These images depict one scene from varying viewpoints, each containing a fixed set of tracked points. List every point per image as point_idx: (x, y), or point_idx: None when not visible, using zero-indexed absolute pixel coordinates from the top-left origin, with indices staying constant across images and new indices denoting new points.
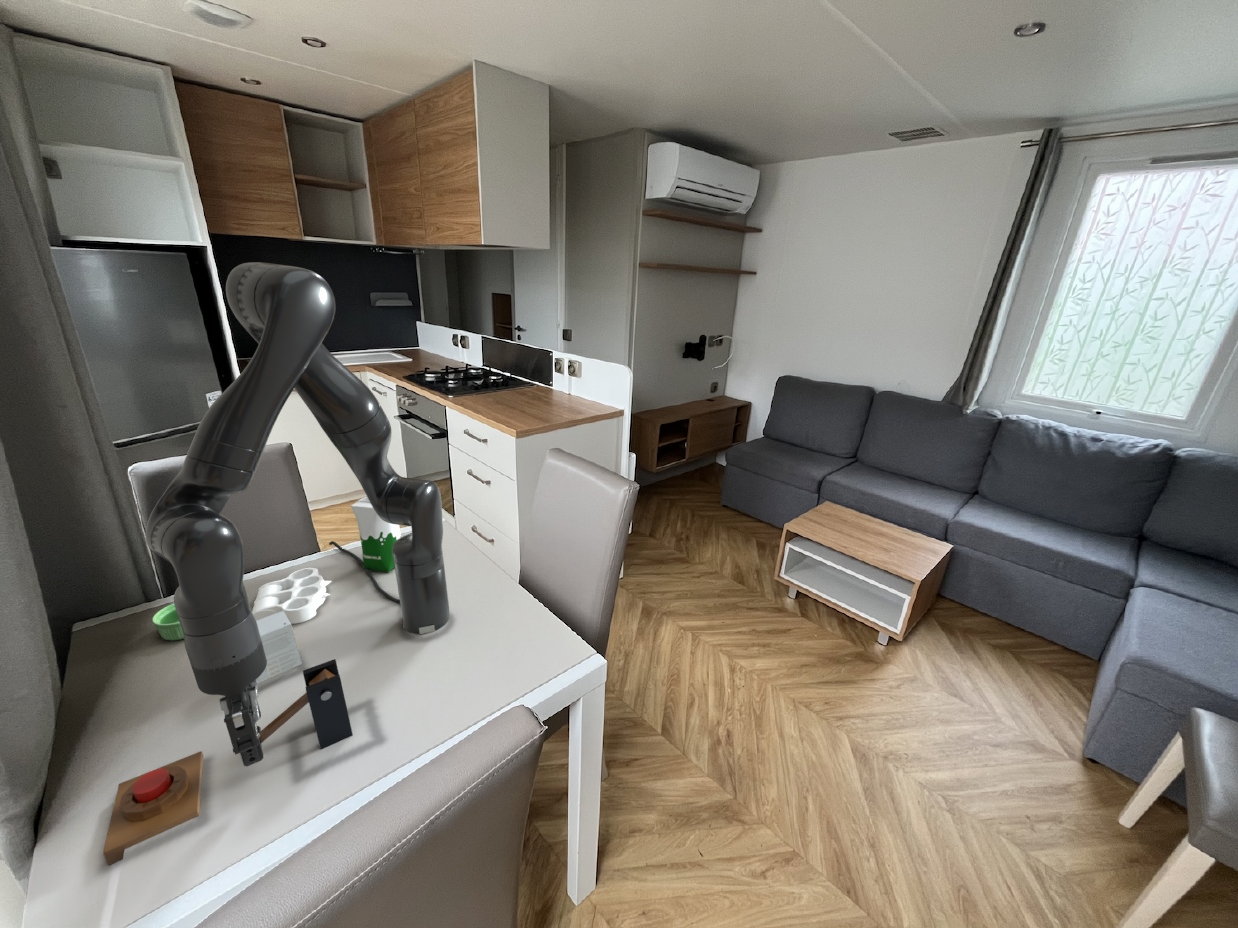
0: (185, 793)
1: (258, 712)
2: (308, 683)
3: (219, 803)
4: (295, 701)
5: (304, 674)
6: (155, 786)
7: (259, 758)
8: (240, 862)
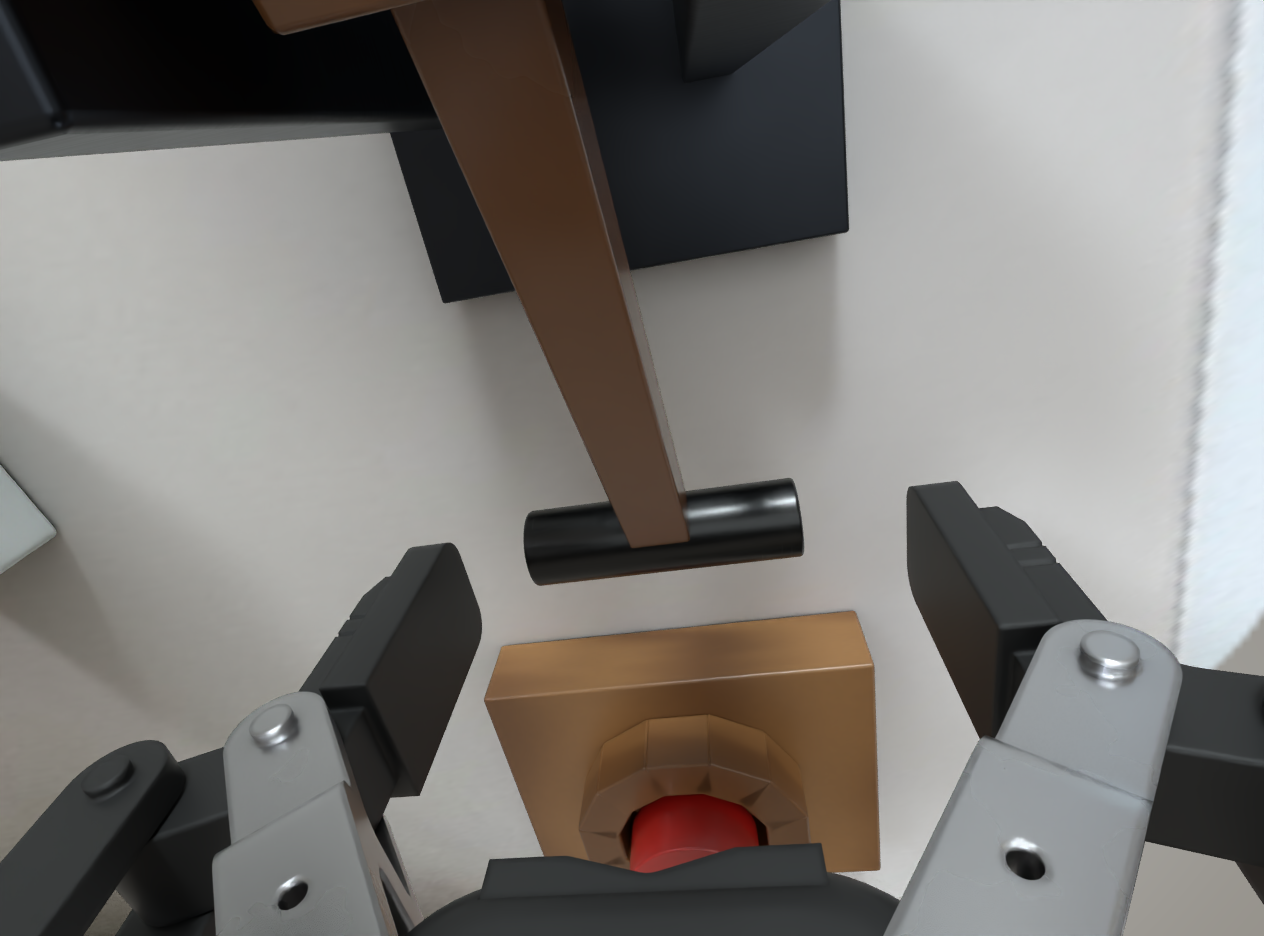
0: (732, 715)
1: (1037, 837)
2: (258, 71)
3: (783, 566)
4: (513, 282)
5: (73, 97)
6: None
7: (992, 512)
8: (1208, 444)
